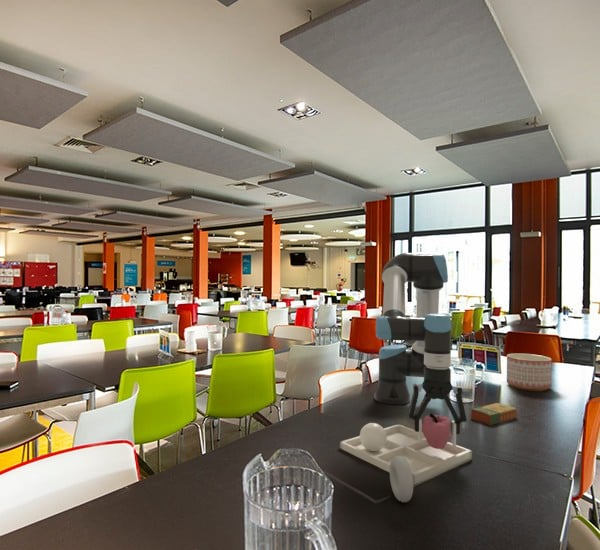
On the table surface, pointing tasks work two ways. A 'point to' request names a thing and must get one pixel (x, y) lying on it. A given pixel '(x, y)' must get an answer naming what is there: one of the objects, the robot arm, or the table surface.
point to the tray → (410, 453)
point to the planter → (529, 372)
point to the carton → (493, 413)
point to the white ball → (373, 437)
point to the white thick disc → (401, 479)
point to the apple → (437, 430)
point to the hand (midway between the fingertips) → (436, 443)
